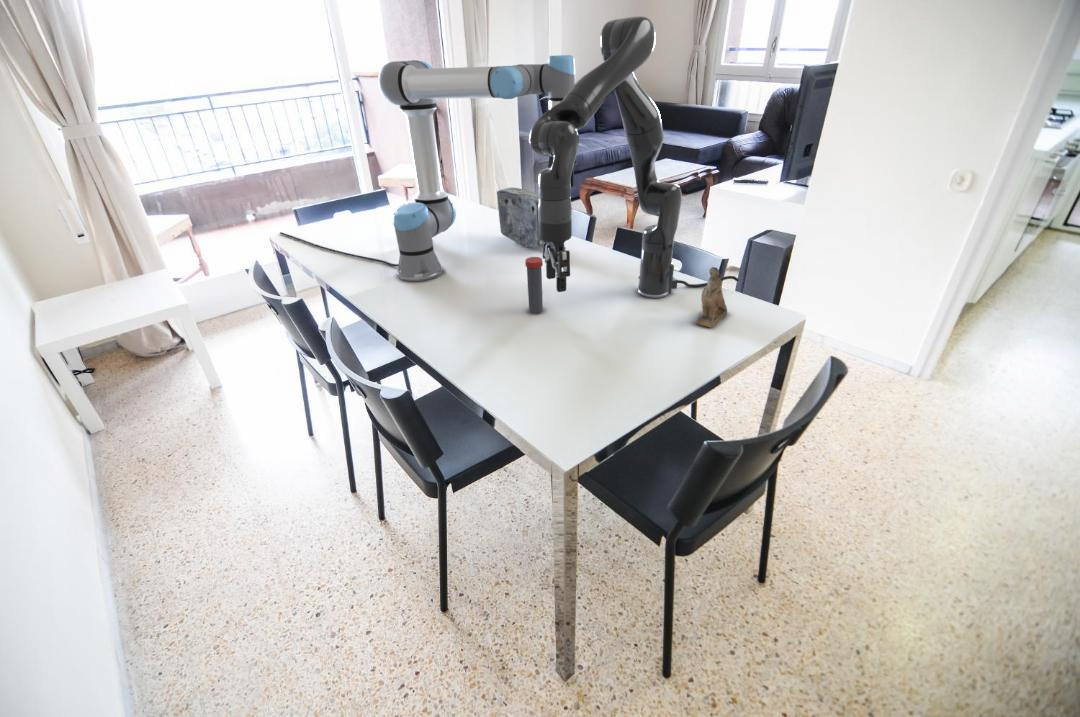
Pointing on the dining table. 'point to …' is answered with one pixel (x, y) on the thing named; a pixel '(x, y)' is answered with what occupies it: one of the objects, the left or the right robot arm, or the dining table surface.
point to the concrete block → (519, 216)
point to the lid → (533, 262)
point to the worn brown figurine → (712, 301)
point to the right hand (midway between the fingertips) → (556, 284)
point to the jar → (535, 290)
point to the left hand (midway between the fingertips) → (562, 191)
